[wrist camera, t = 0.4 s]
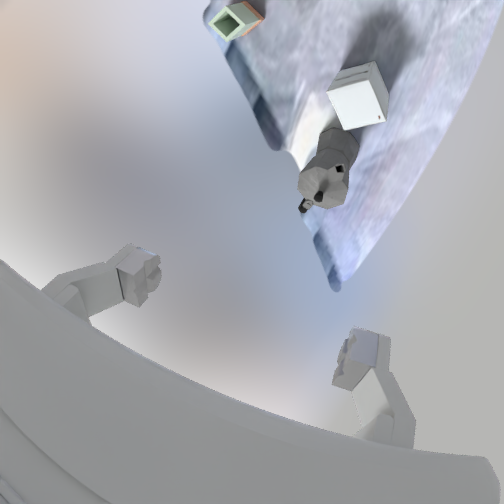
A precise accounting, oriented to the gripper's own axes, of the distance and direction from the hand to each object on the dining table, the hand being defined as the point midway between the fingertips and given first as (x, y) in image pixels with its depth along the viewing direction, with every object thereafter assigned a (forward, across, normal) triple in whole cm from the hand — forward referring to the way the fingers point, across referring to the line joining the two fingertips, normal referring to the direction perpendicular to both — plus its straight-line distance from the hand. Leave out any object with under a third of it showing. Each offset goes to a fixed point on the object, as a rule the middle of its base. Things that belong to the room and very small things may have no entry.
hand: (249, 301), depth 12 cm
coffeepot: (+56, +1, +8) cm, 57 cm away
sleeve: (+48, +22, -16) cm, 56 cm away
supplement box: (+51, -2, -8) cm, 52 cm away
